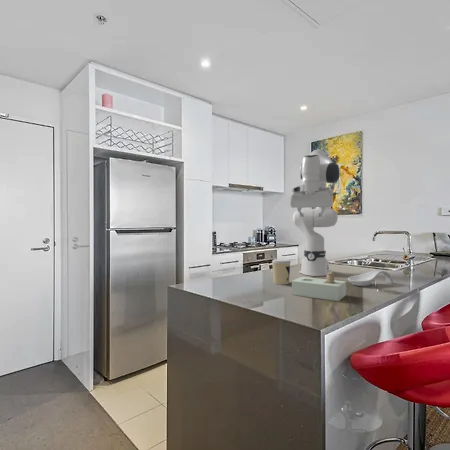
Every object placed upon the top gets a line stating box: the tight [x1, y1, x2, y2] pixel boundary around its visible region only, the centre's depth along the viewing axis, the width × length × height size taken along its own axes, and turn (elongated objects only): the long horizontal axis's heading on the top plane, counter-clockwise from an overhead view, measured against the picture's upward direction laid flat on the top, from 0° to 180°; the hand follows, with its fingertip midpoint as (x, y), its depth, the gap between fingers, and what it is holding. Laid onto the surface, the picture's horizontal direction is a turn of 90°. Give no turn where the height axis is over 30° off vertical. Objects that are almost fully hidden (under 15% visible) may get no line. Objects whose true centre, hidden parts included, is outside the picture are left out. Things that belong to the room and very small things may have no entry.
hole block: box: [291, 276, 347, 302], centre depth 137 cm, size 12×20×6 cm, turn 55°
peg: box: [326, 272, 335, 284], centre depth 134 cm, size 3×3×10 cm
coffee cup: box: [271, 258, 291, 286], centre depth 162 cm, size 9×9×12 cm
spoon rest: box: [347, 269, 394, 287], centre depth 158 cm, size 24×12×7 cm, turn 105°
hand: (311, 217), depth 151 cm, fingers open, 8 cm apart
